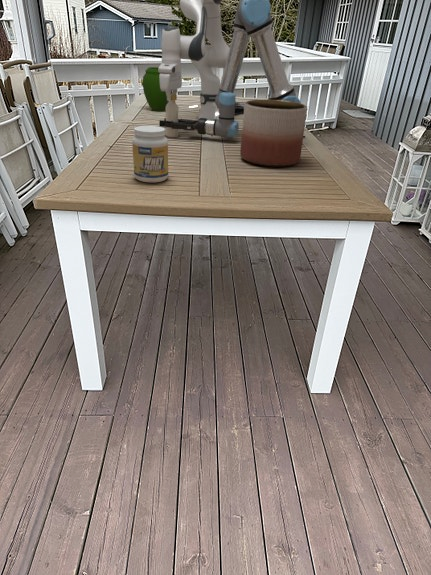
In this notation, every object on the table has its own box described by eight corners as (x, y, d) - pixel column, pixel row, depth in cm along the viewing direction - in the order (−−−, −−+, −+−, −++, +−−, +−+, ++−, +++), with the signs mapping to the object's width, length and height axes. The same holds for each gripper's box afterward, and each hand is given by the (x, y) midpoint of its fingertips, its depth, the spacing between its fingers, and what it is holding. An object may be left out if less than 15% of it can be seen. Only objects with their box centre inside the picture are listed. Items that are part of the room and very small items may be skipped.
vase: (143, 107, 275) (142, 66, 262) (173, 108, 277) (172, 67, 264) (142, 112, 259) (140, 68, 246) (173, 113, 261) (173, 70, 248)
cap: (166, 98, 199) (166, 93, 198) (175, 98, 200) (175, 94, 199) (167, 100, 195) (167, 95, 194) (177, 100, 196) (177, 95, 195)
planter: (308, 168, 166) (317, 110, 154) (247, 168, 162) (252, 108, 150) (288, 152, 187) (295, 100, 175) (234, 152, 183) (238, 98, 171)
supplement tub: (139, 184, 140) (136, 133, 131) (130, 174, 149) (127, 125, 140) (173, 181, 144) (172, 131, 135) (162, 172, 153) (161, 124, 144)
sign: (232, 108, 270) (231, 101, 295) (232, 112, 272) (230, 105, 297) (261, 109, 270) (257, 102, 296) (260, 114, 272) (257, 107, 297)
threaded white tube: (163, 136, 205) (162, 96, 195) (170, 133, 210) (170, 95, 200) (174, 137, 203) (173, 97, 193) (180, 135, 208) (180, 96, 198)
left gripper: (172, 65, 199) (173, 96, 207) (156, 68, 182) (157, 101, 190) (185, 66, 198) (184, 97, 205) (170, 69, 181) (170, 103, 189)
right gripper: (200, 138, 194) (155, 133, 198) (211, 130, 210) (169, 126, 214) (201, 121, 190) (154, 117, 194) (212, 115, 206) (168, 111, 210)
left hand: (171, 99), depth 197 cm, fingers open, 5 cm apart
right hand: (162, 122), depth 204 cm, fingers closed on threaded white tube, 6 cm apart
